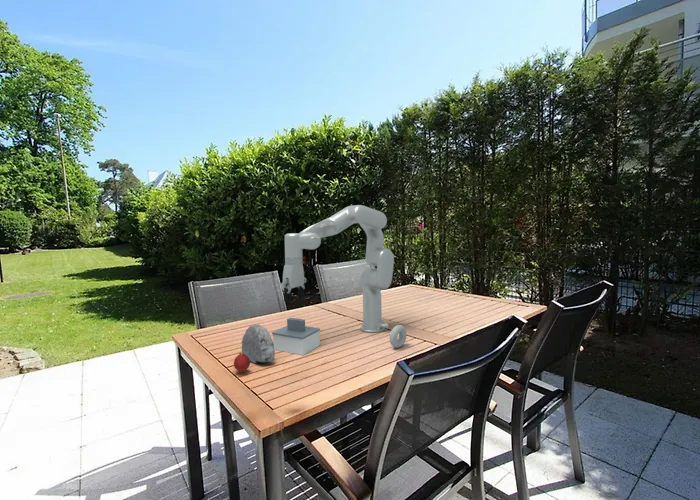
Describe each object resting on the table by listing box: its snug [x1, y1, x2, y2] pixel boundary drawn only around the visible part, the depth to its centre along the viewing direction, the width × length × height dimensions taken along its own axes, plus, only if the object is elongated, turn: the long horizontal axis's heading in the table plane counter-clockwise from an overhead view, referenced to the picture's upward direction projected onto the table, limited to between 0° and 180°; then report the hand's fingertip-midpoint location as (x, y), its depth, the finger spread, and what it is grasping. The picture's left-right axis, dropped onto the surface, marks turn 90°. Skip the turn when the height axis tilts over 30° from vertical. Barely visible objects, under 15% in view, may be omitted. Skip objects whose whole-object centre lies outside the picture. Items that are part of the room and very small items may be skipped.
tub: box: [272, 331, 321, 356], centre depth 155 cm, size 16×13×7 cm
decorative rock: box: [241, 324, 276, 364], centre depth 140 cm, size 16×7×15 cm, turn 49°
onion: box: [233, 351, 251, 374], centre depth 130 cm, size 6×6×8 cm
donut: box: [389, 324, 408, 349], centre depth 152 cm, size 10×3×10 cm, turn 133°
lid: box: [271, 317, 321, 339], centre depth 154 cm, size 17×14×7 cm
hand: (294, 299), depth 153 cm, fingers open, 9 cm apart
